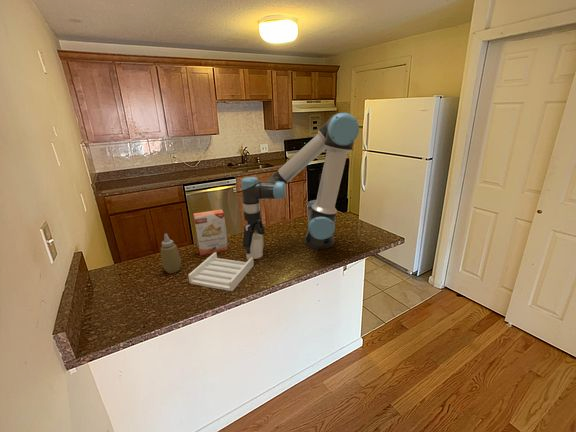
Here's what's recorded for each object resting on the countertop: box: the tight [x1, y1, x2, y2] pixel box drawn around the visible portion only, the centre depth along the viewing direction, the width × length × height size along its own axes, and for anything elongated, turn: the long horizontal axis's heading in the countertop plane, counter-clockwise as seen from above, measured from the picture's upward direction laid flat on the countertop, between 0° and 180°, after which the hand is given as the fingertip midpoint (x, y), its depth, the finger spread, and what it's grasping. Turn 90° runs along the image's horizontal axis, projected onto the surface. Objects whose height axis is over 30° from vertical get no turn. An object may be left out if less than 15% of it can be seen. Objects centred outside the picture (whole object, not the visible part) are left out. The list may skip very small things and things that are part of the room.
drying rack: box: [187, 252, 255, 292], centre depth 121 cm, size 20×20×4 cm
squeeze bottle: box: [160, 233, 182, 274], centre depth 123 cm, size 8×8×18 cm
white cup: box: [251, 233, 264, 260], centre depth 134 cm, size 8×8×10 cm
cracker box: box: [193, 208, 229, 256], centre depth 139 cm, size 14×6×21 cm, turn 111°
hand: (255, 252), depth 136 cm, fingers open, 12 cm apart
